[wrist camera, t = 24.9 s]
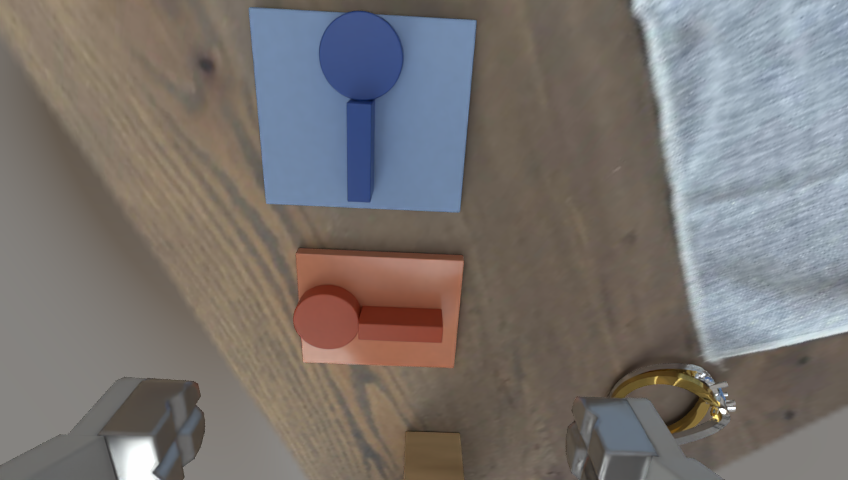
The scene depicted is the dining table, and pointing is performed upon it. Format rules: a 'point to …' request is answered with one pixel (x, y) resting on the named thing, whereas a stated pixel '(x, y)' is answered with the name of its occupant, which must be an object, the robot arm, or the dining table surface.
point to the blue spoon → (361, 85)
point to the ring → (686, 379)
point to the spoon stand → (433, 456)
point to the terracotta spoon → (360, 320)
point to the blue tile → (394, 114)
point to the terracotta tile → (387, 300)
